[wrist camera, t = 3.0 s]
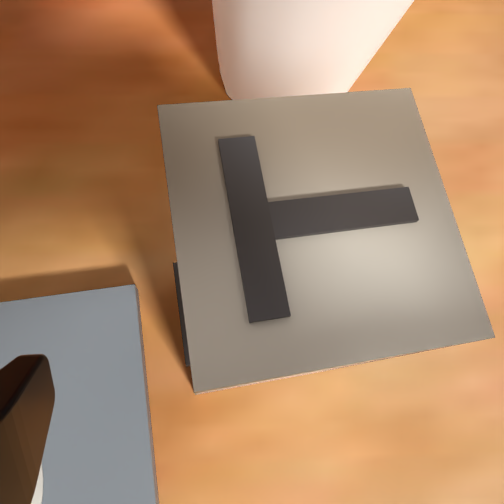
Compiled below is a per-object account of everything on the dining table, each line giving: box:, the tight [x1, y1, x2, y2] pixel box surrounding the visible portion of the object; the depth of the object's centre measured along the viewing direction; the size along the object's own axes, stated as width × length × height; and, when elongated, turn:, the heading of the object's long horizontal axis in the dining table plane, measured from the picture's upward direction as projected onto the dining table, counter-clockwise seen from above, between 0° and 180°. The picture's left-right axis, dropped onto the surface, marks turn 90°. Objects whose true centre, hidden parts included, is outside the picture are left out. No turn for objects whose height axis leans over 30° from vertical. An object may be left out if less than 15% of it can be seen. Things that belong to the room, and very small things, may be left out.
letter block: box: [157, 88, 495, 395], centre depth 12 cm, size 5×5×11 cm
